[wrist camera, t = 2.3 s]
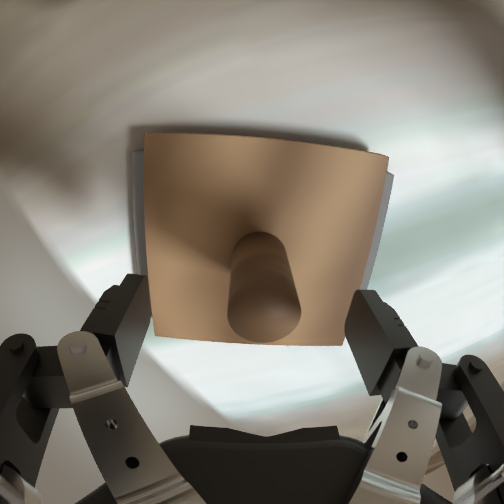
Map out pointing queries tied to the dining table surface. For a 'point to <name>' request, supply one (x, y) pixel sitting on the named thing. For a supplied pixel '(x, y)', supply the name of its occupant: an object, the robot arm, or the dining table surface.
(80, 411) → the robot arm
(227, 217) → the lid
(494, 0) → the dining table surface
